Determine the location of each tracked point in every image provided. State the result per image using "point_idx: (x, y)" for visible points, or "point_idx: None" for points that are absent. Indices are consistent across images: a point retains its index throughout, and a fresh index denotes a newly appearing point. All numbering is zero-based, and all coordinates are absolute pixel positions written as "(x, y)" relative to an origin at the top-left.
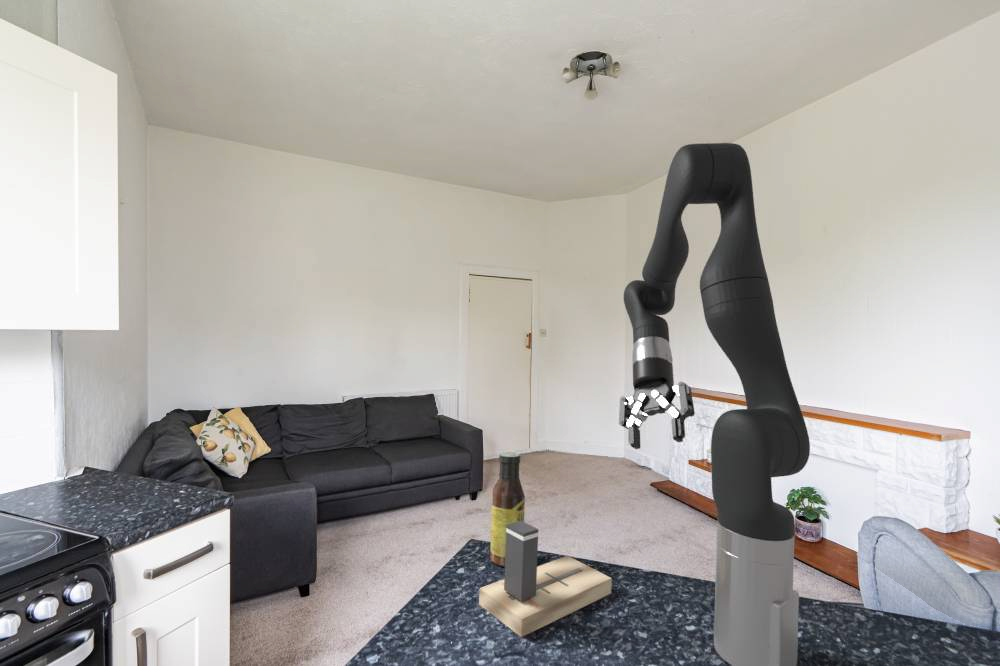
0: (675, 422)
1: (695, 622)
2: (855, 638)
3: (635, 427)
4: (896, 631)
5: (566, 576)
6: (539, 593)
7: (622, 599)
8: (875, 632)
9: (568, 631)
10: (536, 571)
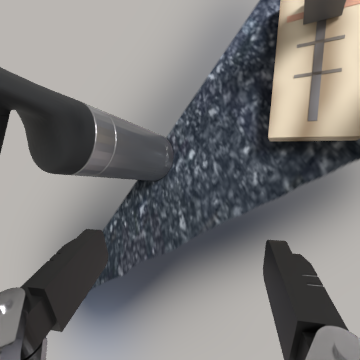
0: (44, 270)
1: (191, 164)
2: (119, 234)
3: (301, 352)
4: None
5: (311, 89)
6: (306, 35)
7: (254, 142)
8: (113, 252)
9: (257, 55)
10: (304, 1)
